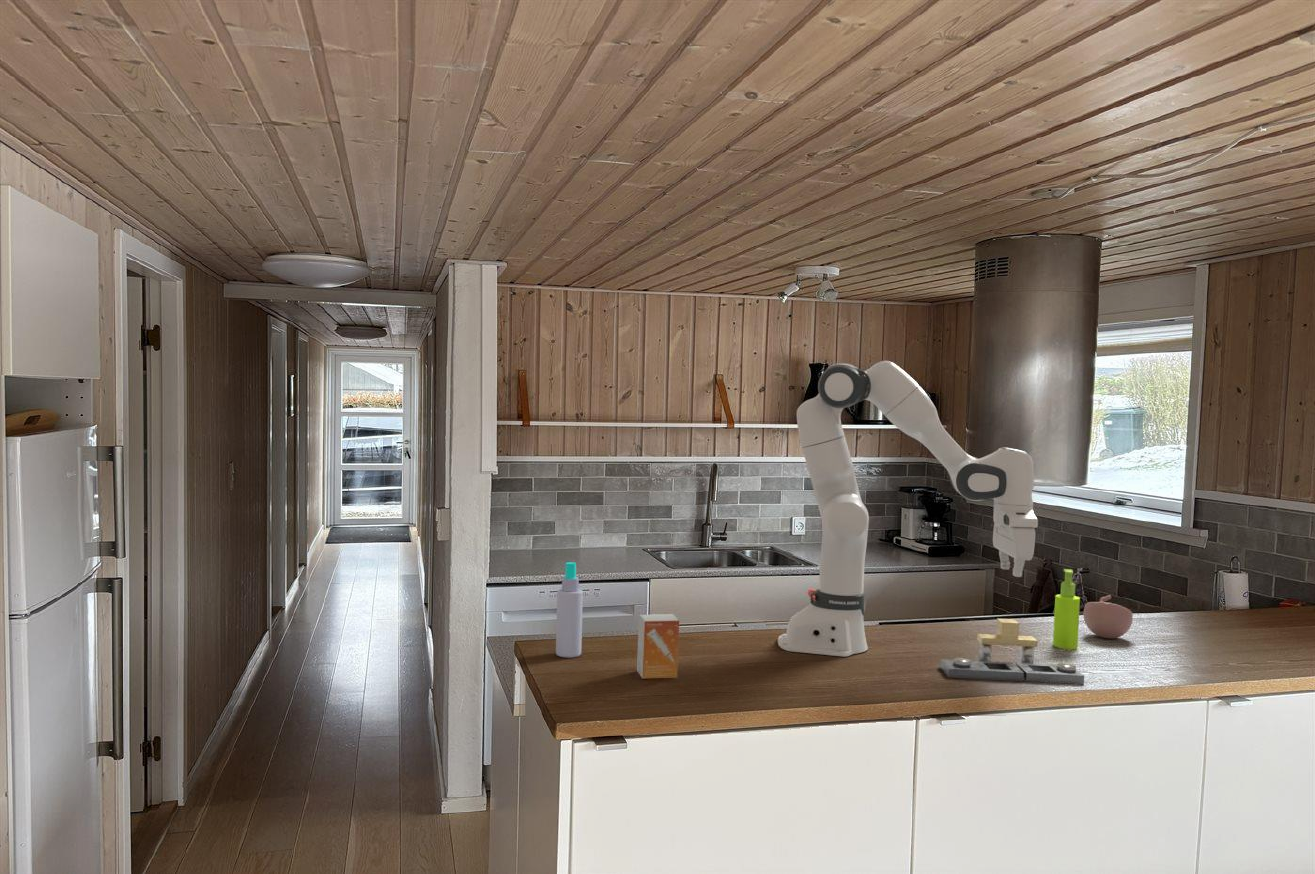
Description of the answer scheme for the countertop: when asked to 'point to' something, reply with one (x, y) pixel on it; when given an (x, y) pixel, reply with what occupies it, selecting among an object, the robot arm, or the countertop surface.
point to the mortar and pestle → (1107, 618)
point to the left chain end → (981, 669)
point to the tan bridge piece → (1007, 641)
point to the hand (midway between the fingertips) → (1011, 572)
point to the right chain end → (1051, 673)
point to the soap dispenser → (1066, 615)
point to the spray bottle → (569, 615)
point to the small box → (658, 646)
